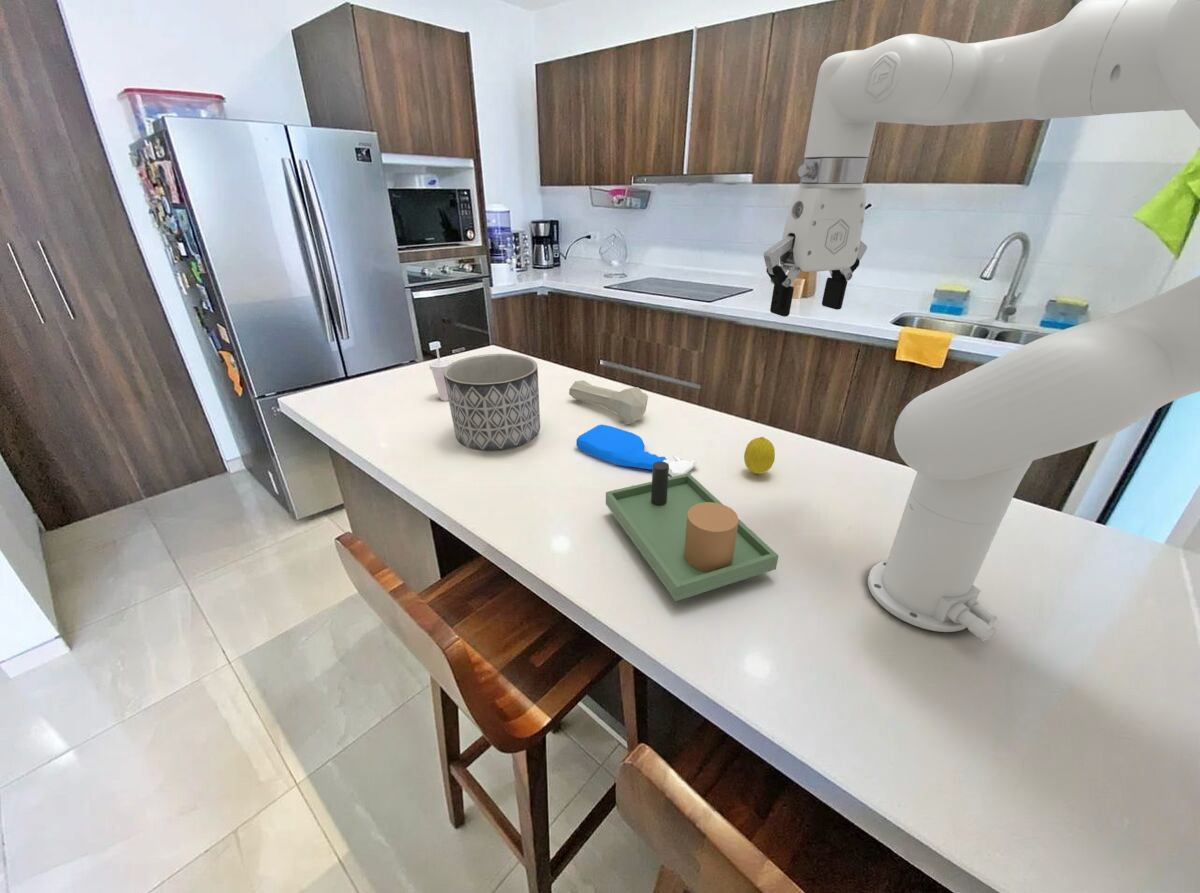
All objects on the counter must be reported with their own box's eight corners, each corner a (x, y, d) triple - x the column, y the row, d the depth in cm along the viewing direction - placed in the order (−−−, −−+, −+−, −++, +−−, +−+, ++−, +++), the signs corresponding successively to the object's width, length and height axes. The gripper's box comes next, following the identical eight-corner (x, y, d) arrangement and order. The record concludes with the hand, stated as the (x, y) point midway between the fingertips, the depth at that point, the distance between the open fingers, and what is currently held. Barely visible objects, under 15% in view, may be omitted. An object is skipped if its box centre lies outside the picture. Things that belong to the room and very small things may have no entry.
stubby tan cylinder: (742, 565, 69) (748, 524, 66) (700, 578, 67) (704, 536, 64) (715, 536, 75) (719, 497, 71) (675, 548, 72) (678, 508, 69)
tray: (776, 569, 70) (785, 523, 66) (675, 601, 64) (679, 553, 61) (687, 484, 89) (691, 445, 86) (605, 504, 84) (605, 463, 81)
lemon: (772, 482, 93) (779, 445, 90) (742, 480, 94) (747, 442, 91) (770, 468, 98) (776, 431, 94) (741, 465, 99) (746, 429, 95)
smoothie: (434, 395, 135) (425, 344, 128) (459, 392, 136) (451, 342, 130) (435, 403, 129) (425, 351, 123) (460, 400, 131) (452, 348, 124)
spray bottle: (571, 438, 104) (674, 476, 91) (603, 420, 112) (701, 453, 98) (572, 451, 105) (672, 489, 92) (603, 432, 113) (700, 466, 100)
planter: (438, 453, 105) (424, 379, 97) (479, 416, 122) (470, 351, 114) (523, 463, 101) (516, 387, 93) (553, 423, 117) (549, 356, 110)
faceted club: (629, 428, 112) (556, 404, 129) (652, 426, 119) (580, 403, 135) (635, 390, 110) (561, 370, 126) (658, 390, 116) (584, 371, 133)
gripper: (801, 175, 57) (776, 323, 65) (905, 175, 63) (870, 310, 71) (758, 175, 63) (740, 311, 71) (857, 175, 69) (830, 300, 77)
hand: (805, 310), depth 71 cm, fingers open, 9 cm apart
